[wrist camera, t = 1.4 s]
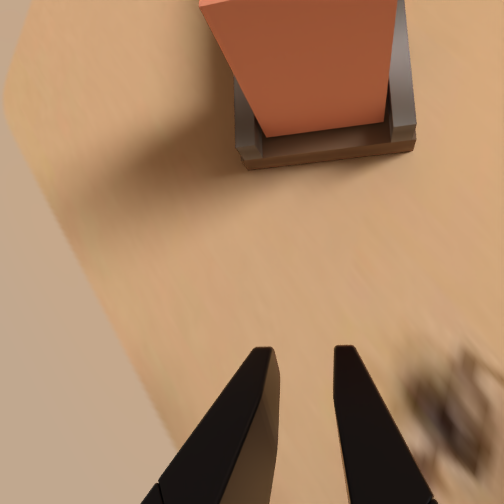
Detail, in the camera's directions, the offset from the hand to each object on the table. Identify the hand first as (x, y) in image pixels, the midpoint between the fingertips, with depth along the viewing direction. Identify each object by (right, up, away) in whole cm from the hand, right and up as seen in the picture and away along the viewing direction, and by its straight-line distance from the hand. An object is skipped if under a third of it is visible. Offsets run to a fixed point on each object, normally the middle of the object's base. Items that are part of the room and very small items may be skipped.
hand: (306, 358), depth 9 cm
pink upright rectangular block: (+2, +11, +13) cm, 17 cm away
